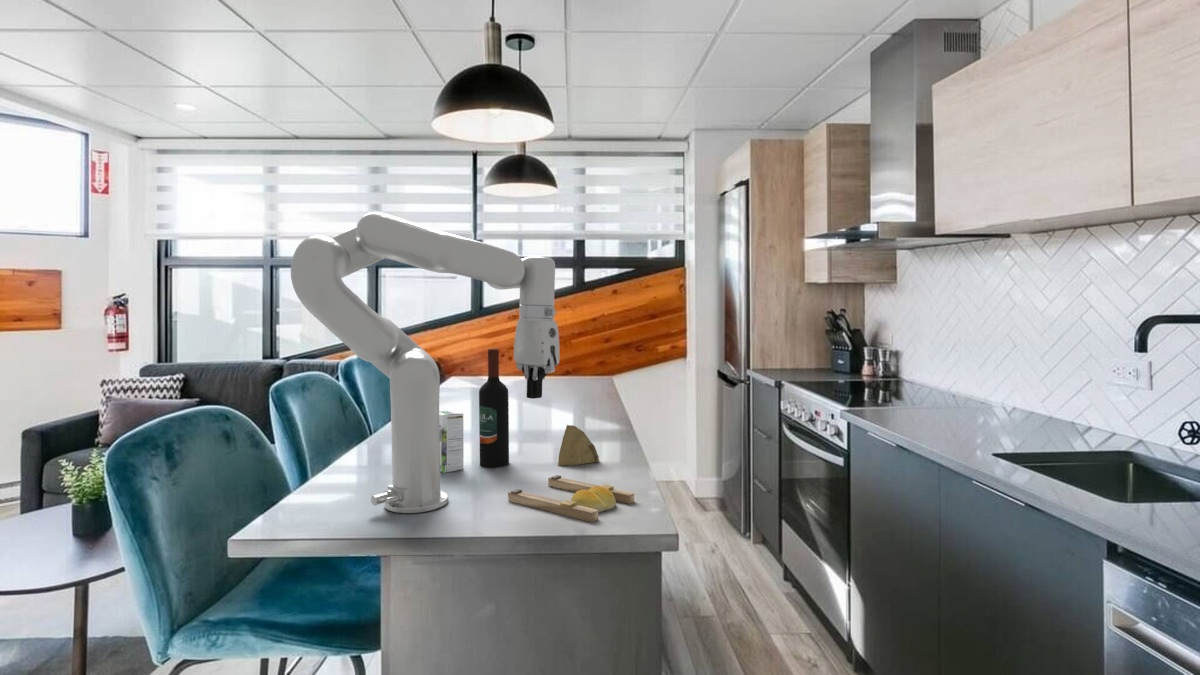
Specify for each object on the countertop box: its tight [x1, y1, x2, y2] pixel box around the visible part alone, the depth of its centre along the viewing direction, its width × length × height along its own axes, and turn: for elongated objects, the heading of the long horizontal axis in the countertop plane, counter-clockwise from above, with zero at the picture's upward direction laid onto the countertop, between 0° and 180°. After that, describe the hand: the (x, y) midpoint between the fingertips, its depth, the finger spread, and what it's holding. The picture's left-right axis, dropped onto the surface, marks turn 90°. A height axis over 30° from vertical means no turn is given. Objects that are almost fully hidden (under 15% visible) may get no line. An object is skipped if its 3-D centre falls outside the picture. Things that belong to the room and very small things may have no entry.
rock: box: [557, 424, 600, 467], centre depth 158 cm, size 11×9×10 cm
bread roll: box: [570, 485, 617, 513], centre depth 123 cm, size 8×9×4 cm
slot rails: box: [507, 474, 635, 523], centre depth 127 cm, size 15×22×2 cm
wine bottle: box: [478, 348, 510, 469], centre depth 156 cm, size 8×8×30 cm
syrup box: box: [439, 410, 465, 474], centre depth 152 cm, size 6×6×14 cm
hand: (534, 397), depth 132 cm, fingers closed
